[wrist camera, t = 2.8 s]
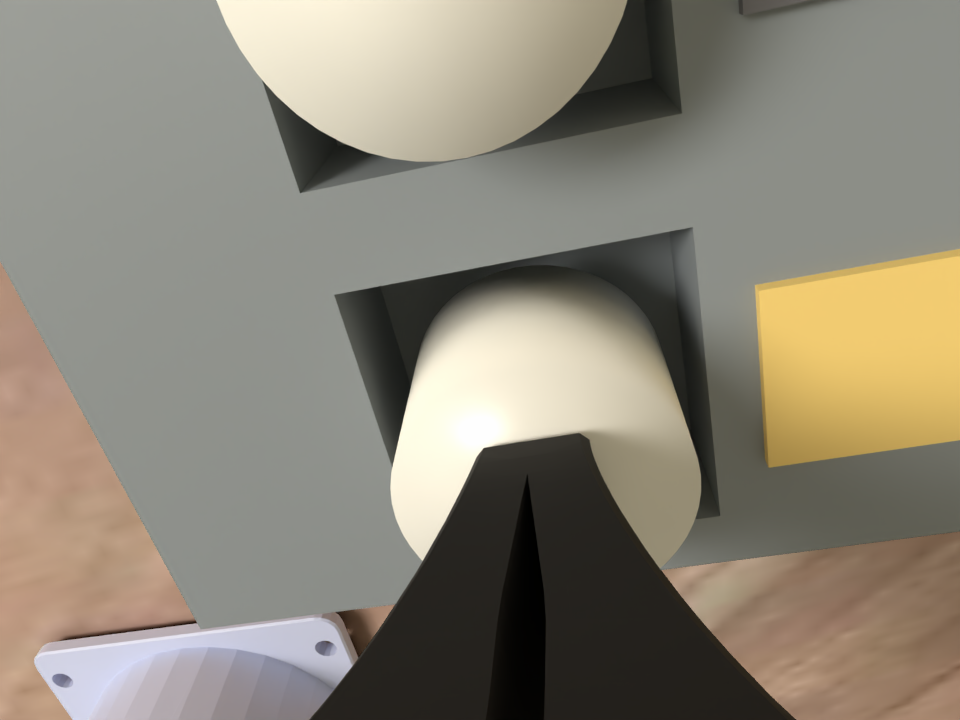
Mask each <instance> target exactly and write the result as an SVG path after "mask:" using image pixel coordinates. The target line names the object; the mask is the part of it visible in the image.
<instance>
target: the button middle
mask: <svg viewBox="0 0 960 720" xmlns="http://www.w3.org/2000/svg"><path fill="white" fill-rule="evenodd" d="M216 1H217V3H218V6H219V8H220V10H221V13H222V15H223V18H224V20H225V23H226V25H227V26H228V28H229V30H230V32H231V34H232V36H233V37H234V39H235V41H236V43H237V45H238V47H239V49H240V50H241V52H242V53H243V55H244V56H245V57H246V59H247V60H248V62H249V63H250V65H251V66H252V67H253V69H254V70H255V72H256V73H257V74H258V76H259V77H260V78H261V79H262V80H263V81H264V82H265V84H266V85H267V86H268V87H269V88H270V89H271V90H272V92H273V93H274V94H275V95H276V96H277V97H278V98H279V99H280V100H282V101H283V102H284V103H285V104H286V105H287V106H288V107H289V108H290V109H291V110H293V111H294V112H295V113H296V114H297V115H298V116H300V117H301V118H303V119H304V120H306V121H307V122H308V123H310V124H311V125H313V126H314V127H315V128H317V129H318V130H320V131H322V132H323V133H325V134H327V135H329V136H331V137H333V138H335V139H336V140H338V141H340V142H342V143H344V144H347V145H349V146H352V147H354V148H357V149H360V150H362V151H365V152H367V153H371V154H375V155H379V156H383V157H387V158H391V159H399V160H407V161H415V162H433V161H448V160H455V159H462V158H468V157H472V156H475V155H479V154H482V153H486V152H490V151H492V150H495V149H497V148H500V147H502V146H504V145H507V144H509V143H511V142H514V141H516V140H517V139H519V138H521V137H522V136H524V135H526V134H527V133H529V132H531V131H532V130H534V129H536V128H538V127H539V126H540V125H541V124H543V123H544V122H545V121H546V120H548V119H549V118H550V117H552V116H553V115H554V114H555V113H557V112H558V111H559V110H560V109H561V108H562V107H563V106H564V105H565V104H566V103H567V102H568V101H569V100H570V99H571V98H572V97H573V96H574V95H575V94H576V93H577V92H578V91H579V90H580V88H581V87H582V86H583V84H584V83H585V82H586V80H587V79H588V78H589V77H590V75H591V74H592V73H593V71H594V70H595V69H596V67H597V65H598V64H599V62H600V60H601V59H602V57H603V55H604V54H605V52H606V50H607V49H608V47H609V45H610V43H611V41H612V39H613V37H614V34H615V32H616V30H617V28H618V25H619V23H620V21H621V19H622V16H623V13H624V10H625V7H626V3H627V0H216Z"/></svg>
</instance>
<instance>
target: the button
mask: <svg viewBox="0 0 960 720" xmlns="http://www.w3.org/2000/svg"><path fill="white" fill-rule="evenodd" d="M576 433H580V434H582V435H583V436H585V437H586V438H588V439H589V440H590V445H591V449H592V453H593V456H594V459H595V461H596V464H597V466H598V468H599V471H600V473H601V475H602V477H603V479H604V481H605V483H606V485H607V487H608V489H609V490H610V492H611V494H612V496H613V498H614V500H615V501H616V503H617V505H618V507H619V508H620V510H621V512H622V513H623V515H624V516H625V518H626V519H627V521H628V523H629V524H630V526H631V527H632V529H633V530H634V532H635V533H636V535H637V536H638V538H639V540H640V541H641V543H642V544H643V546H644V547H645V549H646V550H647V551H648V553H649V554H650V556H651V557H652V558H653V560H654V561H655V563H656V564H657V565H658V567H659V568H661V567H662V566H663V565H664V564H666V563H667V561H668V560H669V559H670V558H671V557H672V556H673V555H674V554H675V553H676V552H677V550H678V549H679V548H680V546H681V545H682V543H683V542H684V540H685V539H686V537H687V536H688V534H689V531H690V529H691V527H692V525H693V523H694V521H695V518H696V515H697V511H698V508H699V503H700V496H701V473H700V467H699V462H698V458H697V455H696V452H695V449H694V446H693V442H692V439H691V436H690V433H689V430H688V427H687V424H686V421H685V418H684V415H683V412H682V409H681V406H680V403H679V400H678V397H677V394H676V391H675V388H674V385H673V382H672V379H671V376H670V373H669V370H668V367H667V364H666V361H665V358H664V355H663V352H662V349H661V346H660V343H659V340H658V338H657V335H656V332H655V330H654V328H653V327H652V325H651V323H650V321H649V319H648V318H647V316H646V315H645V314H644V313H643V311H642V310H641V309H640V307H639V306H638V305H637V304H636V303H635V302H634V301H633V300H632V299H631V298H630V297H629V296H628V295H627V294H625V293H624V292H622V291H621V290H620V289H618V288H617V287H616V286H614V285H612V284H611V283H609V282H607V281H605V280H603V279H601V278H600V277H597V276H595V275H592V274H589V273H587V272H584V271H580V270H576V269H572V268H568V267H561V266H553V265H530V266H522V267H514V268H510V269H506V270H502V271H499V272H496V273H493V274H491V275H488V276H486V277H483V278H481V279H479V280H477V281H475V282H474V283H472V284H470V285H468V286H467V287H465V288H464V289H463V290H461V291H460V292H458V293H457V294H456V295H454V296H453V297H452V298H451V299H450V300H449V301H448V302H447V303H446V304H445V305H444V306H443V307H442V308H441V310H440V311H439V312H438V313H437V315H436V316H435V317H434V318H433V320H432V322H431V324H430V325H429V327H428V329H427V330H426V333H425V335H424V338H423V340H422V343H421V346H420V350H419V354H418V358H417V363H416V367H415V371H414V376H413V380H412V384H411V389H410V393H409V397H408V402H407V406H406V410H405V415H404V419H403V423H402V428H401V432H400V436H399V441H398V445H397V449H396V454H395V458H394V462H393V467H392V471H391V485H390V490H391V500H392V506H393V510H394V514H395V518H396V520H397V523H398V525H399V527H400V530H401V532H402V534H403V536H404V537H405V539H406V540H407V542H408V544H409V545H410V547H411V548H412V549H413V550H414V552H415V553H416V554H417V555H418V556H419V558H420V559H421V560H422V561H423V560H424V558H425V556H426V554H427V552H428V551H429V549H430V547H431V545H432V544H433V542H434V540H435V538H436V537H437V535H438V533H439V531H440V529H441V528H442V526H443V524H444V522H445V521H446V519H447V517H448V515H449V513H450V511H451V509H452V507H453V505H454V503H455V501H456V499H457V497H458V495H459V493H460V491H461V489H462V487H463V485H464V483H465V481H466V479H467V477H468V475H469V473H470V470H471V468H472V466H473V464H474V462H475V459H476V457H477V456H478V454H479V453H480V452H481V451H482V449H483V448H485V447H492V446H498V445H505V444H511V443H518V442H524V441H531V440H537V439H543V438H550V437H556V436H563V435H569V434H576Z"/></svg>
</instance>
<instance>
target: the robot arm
mask: <svg viewBox="0 0 960 720" xmlns="http://www.w3.org/2000/svg"><path fill="white" fill-rule="evenodd" d="M325 641H329V642H331V643H327V642H325ZM34 663H35V666H36V668H37V670H38V671H39V673H40V674H41V675H42V677H43V678H44V680H45V681H46V683H47V684H48V685H49V687H50V688H51V690H52V691H53V692H54V694H55V695H56V697H57V698H58V700H59V701H60V702H61V704H62V705H63V707H64V708H65V709H66V711H67V712H68V714H69V715H70V717H71V718H72V719H73V720H796V719H795V718H794V717H793V716H791V715H790V714H789V713H788V712H787V711H786V710H785V709H784V708H783V707H782V706H781V705H780V704H779V703H777V702H776V701H775V700H774V699H773V698H772V697H771V696H770V695H769V694H768V693H767V692H766V691H765V690H764V689H763V687H762V686H761V685H760V684H759V683H758V682H757V681H756V680H755V679H754V678H753V677H752V676H751V675H750V674H749V673H748V672H747V671H746V670H745V669H744V668H743V667H742V666H741V665H740V664H739V662H738V661H737V660H736V659H735V658H734V657H733V656H732V655H731V654H730V653H729V652H728V651H727V649H726V648H725V647H724V646H723V645H722V644H721V643H720V642H719V641H718V639H717V638H716V637H715V636H714V635H713V634H712V633H711V632H710V630H709V629H708V628H707V627H706V626H705V625H704V624H703V622H702V621H701V620H700V619H699V618H698V616H697V615H696V614H695V613H694V612H693V610H692V609H691V608H690V607H689V606H688V604H687V603H686V602H685V601H684V599H683V598H682V597H681V596H680V594H679V593H678V592H677V590H676V589H675V588H674V587H673V585H672V584H671V583H670V581H669V580H668V579H667V577H666V576H665V575H664V573H663V572H662V571H661V569H660V568H659V567H658V565H657V564H656V563H655V561H654V560H653V558H652V557H651V556H650V554H649V553H648V551H647V550H646V549H645V547H644V546H643V544H642V543H641V541H640V540H639V538H638V536H637V535H636V533H635V532H634V530H633V529H632V527H631V526H630V524H629V523H628V521H627V519H626V518H625V516H624V515H623V513H622V512H621V510H620V508H619V507H618V505H617V503H616V501H615V500H614V498H613V496H612V494H611V492H610V490H609V489H608V487H607V485H606V483H605V481H604V479H603V477H602V475H601V473H600V471H599V468H598V466H597V464H596V461H595V459H594V456H593V453H592V449H591V445H590V440H589V439H588V438H586V437H585V436H583V435H582V434H580V433H576V434H569V435H563V436H556V437H550V438H543V439H537V440H531V441H524V442H518V443H511V444H505V445H498V446H492V447H485V448H483V449H482V451H481V452H480V453H479V454H478V456H477V457H476V459H475V462H474V464H473V466H472V468H471V470H470V473H469V475H468V477H467V479H466V481H465V483H464V485H463V487H462V489H461V491H460V493H459V495H458V497H457V499H456V501H455V503H454V505H453V507H452V509H451V511H450V513H449V515H448V517H447V519H446V521H445V522H444V524H443V526H442V528H441V529H440V531H439V533H438V535H437V537H436V538H435V540H434V542H433V544H432V545H431V547H430V549H429V551H428V552H427V554H426V556H425V558H424V560H423V561H422V563H421V565H420V566H419V568H418V570H417V571H416V573H415V575H414V576H413V578H412V579H411V581H410V583H409V584H408V586H407V587H406V589H405V590H404V592H403V593H402V595H401V596H400V598H399V600H398V601H397V603H396V604H395V606H394V607H393V609H392V610H391V612H390V613H389V615H388V617H387V618H386V620H385V621H384V623H383V624H382V626H381V627H380V629H379V630H378V631H377V633H376V634H375V636H374V637H373V639H372V640H371V641H370V643H369V644H368V646H367V647H366V648H365V650H364V651H363V652H362V654H361V655H360V657H359V658H358V656H357V653H356V651H355V649H354V646H353V644H352V641H351V639H350V637H349V634H348V632H347V630H346V627H345V625H344V622H343V620H342V619H341V617H340V616H339V614H337V613H336V612H331V613H324V614H316V615H308V616H300V617H293V618H285V619H277V620H269V621H262V622H254V623H246V624H238V625H231V626H223V627H215V628H207V629H200V627H199V625H198V623H195V624H188V625H180V626H172V627H165V628H157V629H149V630H142V631H134V632H126V633H119V634H111V635H103V636H96V637H88V638H80V639H72V640H65V641H57V642H50V643H47V644H45V645H44V646H43V647H42V648H41V649H40V651H39V652H38V654H37V655H36V657H35V660H34Z"/></svg>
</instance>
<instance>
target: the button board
mask: <svg viewBox="0 0 960 720" xmlns="http://www.w3.org/2000/svg"><path fill="white" fill-rule="evenodd" d="M0 262H1V264H2V265H3V267H4V269H5V271H6V273H7V275H8V276H9V278H10V280H11V282H12V284H13V286H14V287H15V289H16V291H17V293H18V295H19V297H20V298H21V300H22V302H23V304H24V306H25V308H26V309H27V311H28V313H29V315H30V317H31V319H32V320H33V322H34V324H35V326H36V328H37V330H38V331H39V333H40V335H41V337H42V339H43V341H44V343H45V344H46V346H47V348H48V350H49V352H50V354H51V355H52V357H53V359H54V361H55V363H56V365H57V366H58V368H59V370H60V372H61V374H62V376H63V377H64V379H65V381H66V383H67V385H68V387H69V388H70V390H71V392H72V394H73V396H74V398H75V399H76V401H77V403H78V405H79V407H80V409H81V410H82V412H83V414H84V416H85V418H86V420H87V421H88V423H89V425H90V427H91V429H92V431H93V432H94V434H95V436H96V438H97V440H98V442H99V444H100V445H101V447H102V449H103V451H104V453H105V455H106V456H107V458H108V460H109V462H110V464H111V466H112V467H113V469H114V471H115V473H116V475H117V477H118V478H119V480H120V482H121V484H122V486H123V488H124V489H125V491H126V493H127V495H128V497H129V499H130V500H131V502H132V504H133V506H134V508H135V510H136V511H137V513H138V515H139V517H140V519H141V521H142V522H143V524H144V526H145V528H146V530H147V532H148V533H149V535H150V537H151V539H152V541H153V543H154V545H155V546H156V548H157V550H158V552H159V554H160V556H161V557H162V559H163V561H164V563H165V565H166V567H167V568H168V570H169V572H170V574H171V576H172V578H173V579H174V581H175V583H176V585H177V587H178V589H179V590H180V592H181V594H182V596H183V598H184V600H185V601H186V603H187V605H188V607H189V609H190V611H191V612H192V614H193V616H194V618H195V620H196V622H197V623H198V625H199V627H200V629H207V628H215V627H223V626H231V625H238V624H246V623H254V622H262V621H269V620H277V619H285V618H293V617H300V616H308V615H316V614H324V613H331V612H339V611H347V610H355V609H362V608H370V607H378V606H386V605H393V604H396V603H397V601H398V600H399V598H400V596H401V595H402V593H403V592H404V590H405V589H406V587H407V586H408V584H409V583H410V581H411V579H412V578H413V576H414V575H415V573H416V571H417V570H418V568H419V566H420V565H421V563H422V560H421V559H420V558H419V556H418V555H417V554H416V553H415V552H414V550H413V549H412V548H411V547H410V545H409V544H408V542H407V540H406V539H405V537H404V536H403V534H402V532H401V530H400V527H399V525H398V523H397V520H396V518H395V514H394V510H393V506H392V500H391V490H390V485H391V471H392V467H393V462H394V458H395V454H396V449H397V445H398V441H399V436H400V432H401V428H402V423H403V419H404V415H405V410H406V406H407V402H408V397H409V393H410V389H411V384H412V380H413V376H414V371H415V367H416V363H417V358H418V354H419V350H420V346H421V343H422V340H423V338H424V335H425V333H426V330H427V329H428V327H429V325H430V324H431V322H432V320H433V318H434V317H435V316H436V315H437V313H438V312H439V311H440V310H441V308H442V307H443V306H444V305H445V304H446V303H447V302H448V301H449V300H450V299H451V298H452V297H453V296H454V295H456V294H457V293H458V292H460V291H461V290H463V289H464V288H465V287H467V286H468V285H470V284H472V283H474V282H475V281H477V280H479V279H481V278H483V277H486V276H488V275H491V274H493V273H496V272H499V271H502V270H506V269H510V268H514V267H522V266H530V265H553V266H561V267H568V268H572V269H576V270H580V271H584V272H587V273H589V274H592V275H595V276H597V277H600V278H601V279H603V280H605V281H607V282H609V283H611V284H612V285H614V286H616V287H617V288H618V289H620V290H621V291H622V292H624V293H625V294H627V295H628V296H629V297H630V298H631V299H632V300H633V301H634V302H635V303H636V304H637V305H638V306H639V307H640V309H641V310H642V311H643V313H644V314H645V315H646V316H647V318H648V319H649V321H650V323H651V325H652V327H653V328H654V330H655V332H656V335H657V338H658V340H659V343H660V346H661V349H662V352H663V355H664V358H665V361H666V364H667V367H668V370H669V373H670V376H671V379H672V382H673V385H674V388H675V391H676V394H677V397H678V400H679V403H680V406H681V409H682V412H683V415H684V418H685V421H686V424H687V427H688V430H689V433H690V436H691V439H692V442H693V446H694V449H695V452H696V455H697V458H698V462H699V467H700V473H701V496H700V503H699V508H698V511H697V515H696V518H695V521H694V523H693V525H692V527H691V529H690V531H689V534H688V536H687V537H686V539H685V540H684V542H683V543H682V545H681V546H680V548H679V549H678V550H677V552H676V553H675V554H674V555H673V556H672V557H671V558H670V559H669V560H668V561H667V563H666V564H664V565H663V566H662V567H661V568H660V569H661V570H665V569H672V568H680V567H688V566H696V565H704V564H711V563H719V562H727V561H735V560H742V559H750V558H758V557H766V556H773V555H781V554H789V553H797V552H804V551H812V550H820V549H828V548H835V547H843V546H851V545H859V544H866V543H874V542H882V541H890V540H897V539H905V538H913V537H921V536H928V535H936V534H944V533H952V532H959V531H960V0H627V3H626V7H625V10H624V13H623V16H622V19H621V21H620V23H619V25H618V28H617V30H616V32H615V34H614V37H613V39H612V41H611V43H610V45H609V47H608V49H607V50H606V52H605V54H604V55H603V57H602V59H601V60H600V62H599V64H598V65H597V67H596V69H595V70H594V71H593V73H592V74H591V75H590V77H589V78H588V79H587V80H586V82H585V83H584V84H583V86H582V87H581V88H580V90H579V91H578V92H577V93H576V94H575V95H574V96H573V97H572V98H571V99H570V100H569V101H568V102H567V103H566V104H565V105H564V106H563V107H562V108H561V109H560V110H559V111H558V112H557V113H555V114H554V115H553V116H552V117H550V118H549V119H548V120H546V121H545V122H544V123H543V124H541V125H540V126H539V127H538V128H536V129H534V130H532V131H531V132H529V133H527V134H526V135H524V136H522V137H521V138H519V139H517V140H516V141H514V142H511V143H509V144H507V145H504V146H502V147H500V148H497V149H495V150H492V151H490V152H486V153H482V154H479V155H475V156H472V157H468V158H462V159H455V160H448V161H433V162H415V161H407V160H399V159H391V158H387V157H383V156H379V155H375V154H371V153H367V152H365V151H362V150H360V149H357V148H354V147H352V146H349V145H347V144H344V143H342V142H340V141H338V140H336V139H335V138H333V137H331V136H329V135H327V134H325V133H323V132H322V131H320V130H318V129H317V128H315V127H314V126H313V125H311V124H310V123H308V122H307V121H306V120H304V119H303V118H301V117H300V116H298V115H297V114H296V113H295V112H294V111H293V110H291V109H290V108H289V107H288V106H287V105H286V104H285V103H284V102H283V101H282V100H280V99H279V98H278V97H277V96H276V95H275V94H274V93H273V92H272V90H271V89H270V88H269V87H268V86H267V85H266V84H265V82H264V81H263V80H262V79H261V78H260V77H259V76H258V74H257V73H256V72H255V70H254V69H253V67H252V66H251V65H250V63H249V62H248V60H247V59H246V57H245V56H244V55H243V53H242V52H241V50H240V49H239V47H238V45H237V43H236V41H235V39H234V37H233V36H232V34H231V32H230V30H229V28H228V26H227V25H226V23H225V20H224V18H223V15H222V13H221V10H220V8H219V6H218V3H217V1H216V0H0Z"/></svg>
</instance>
